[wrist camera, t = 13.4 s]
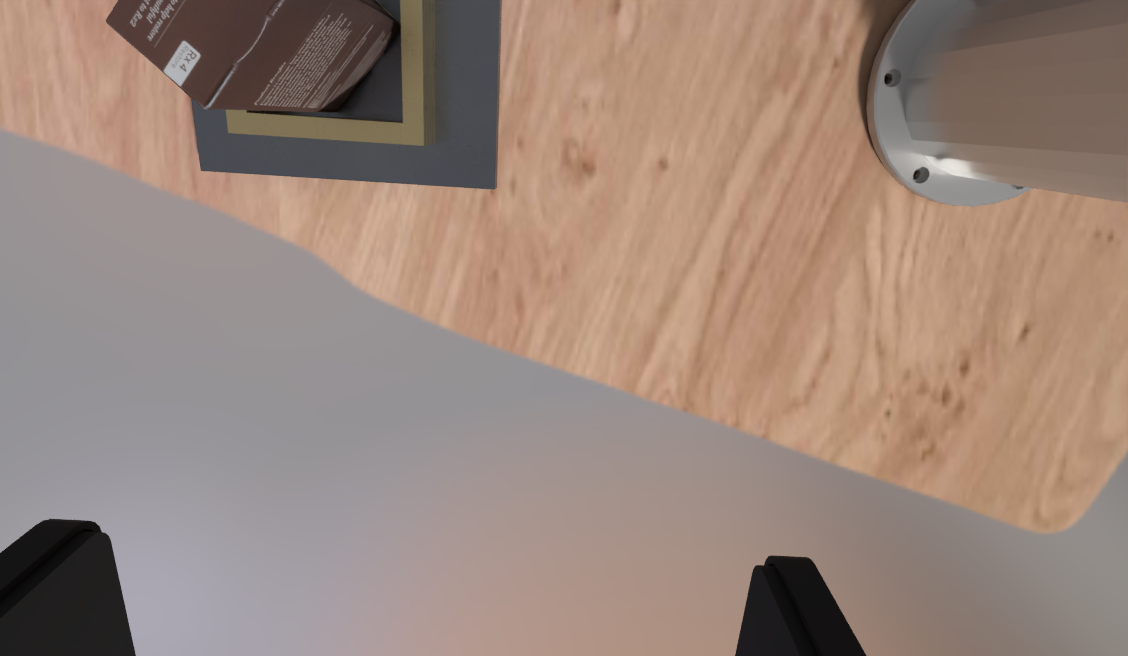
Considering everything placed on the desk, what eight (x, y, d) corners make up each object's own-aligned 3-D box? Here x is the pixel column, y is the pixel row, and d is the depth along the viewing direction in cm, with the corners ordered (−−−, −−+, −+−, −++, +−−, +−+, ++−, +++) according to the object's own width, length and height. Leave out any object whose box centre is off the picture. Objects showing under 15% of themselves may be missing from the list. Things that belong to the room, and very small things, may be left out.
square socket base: (504, -103, 30) (496, -134, 26) (496, 187, 35) (488, 196, 31) (174, -128, 30) (117, -163, 26) (210, 169, 34) (167, 176, 30)
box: (333, -43, 30) (194, -139, 19) (405, 27, 31) (316, -24, 20) (263, 54, 31) (94, 20, 20) (334, 118, 32) (213, 120, 21)
